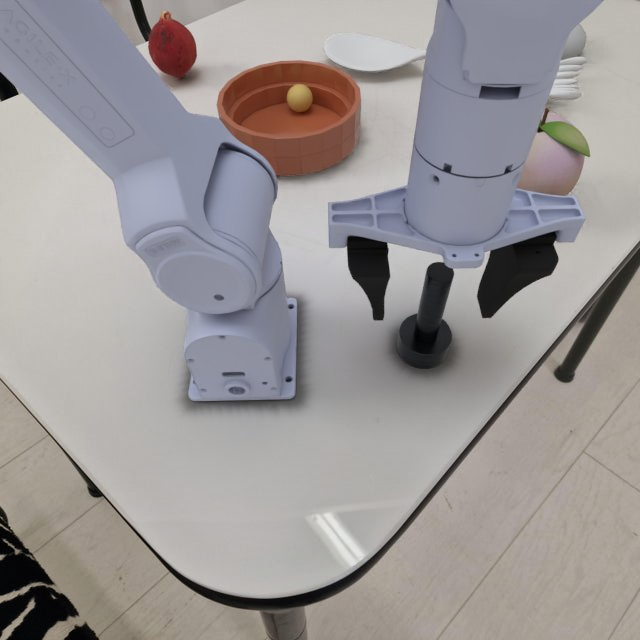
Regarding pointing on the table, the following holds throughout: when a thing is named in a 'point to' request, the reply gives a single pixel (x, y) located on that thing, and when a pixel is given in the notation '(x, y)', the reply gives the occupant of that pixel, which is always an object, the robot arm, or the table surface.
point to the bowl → (293, 115)
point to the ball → (299, 98)
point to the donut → (574, 43)
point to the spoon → (390, 55)
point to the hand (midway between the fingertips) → (430, 308)
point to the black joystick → (428, 322)
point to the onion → (172, 46)
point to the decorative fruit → (554, 157)
